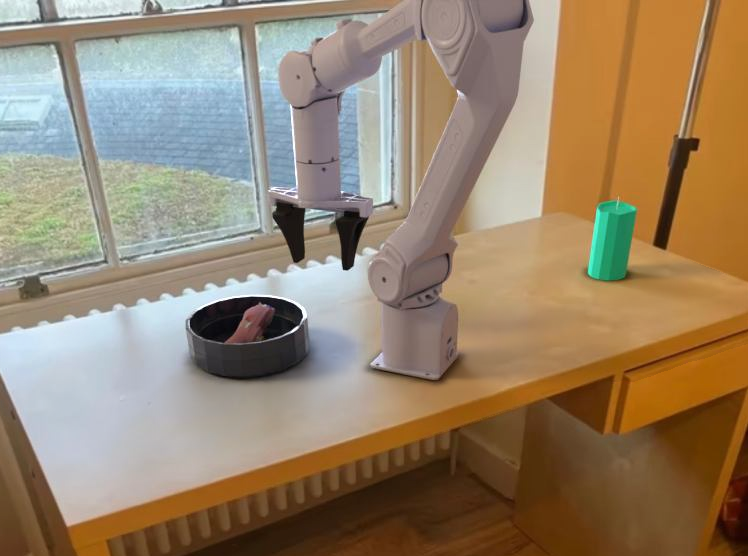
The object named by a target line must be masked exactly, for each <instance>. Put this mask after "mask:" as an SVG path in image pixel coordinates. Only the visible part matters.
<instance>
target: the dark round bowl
mask: <svg viewBox="0 0 748 556" xmlns="http://www.w3.org/2000/svg"><path fill="white" fill-rule="evenodd" d="M259 302H260V303H261V304H262V305H265V304H266V305H267V306H268V305H269V306H270V307H272V308H274V309H275V313H274V315H273V319H272V321H271V323H270V325H269V326H268V327H267V329H266V331H265V333H264V335H263V336H264V340H263V341H260V342H250V343H225V342H226V341H227V340H228V339H230V338H231V337H232V336H233V335H234V333H235V332H236V330H237V329H238V327H239V324H240V322H241V321H242V320H243V316H244V313H245V312H246V311H247V310H248V309H250V308H252V307H254V306H257V305H259ZM308 318H309V317H308V314H307V310H306V309H305V308H304V306H302V305H301V304H300V303H298V302H296V301H294V300H291V299H289V298H286V297H281V296H275V295H270V294H269V295H267V294H249V295H248V294H247V295H238V296H231V297H226V298H221V299H216V300H214V301H211V302H209V303H206V304H204V305H201V306H199V307H198V308H196V309H195V310H193V311H192V312H191V313H190V314H189V315H188V317H187V318H186V319H185V333H186V339H187V345H188V351H189V356H190V359H191V361H192V362H193V364H195V366H196V367H198V368H199V369H201V370H203V371H206V372H207V373H211V374H214V375H217V376H221V377H227V378H239V379H243V378H244V379H245V378H257V377H258V378H259V377H265V376H268V375H273V374H276V373H279V372H281V371H284V370H287V369H289V368H290V367H292V366H293V365H296V364H297V363H299V362H300V361H301V360H302V359H303V358H304V357H306V356H307V354H308V351H309V350H310V347H311V346H310V336H309V335H310V333H309V321H308V320H309V319H308Z"/></svg>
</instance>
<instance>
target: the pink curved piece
mask: <svg viewBox="0 0 748 556" xmlns="http://www.w3.org/2000/svg"><path fill="white" fill-rule="evenodd" d="M274 313H275V309H274V308H272V307H270V306H269V305H268V306H267V305H266V304H265V305H262V304H261V303H260V302H259V305H257V306H254V307H252V308H250V309H248V310H247V311H246V312H245V313H244V316H243V320H242V321H241V322H240V324H239V327H238V329H237V330H236V332H235V333H234V335H233V336H232V337H231V338H230V339H228V340H227V341H226V342H225V343H250V342H260V341H263V340H264V336H263V335H264V333H265V331H266V329H267V327H268V326H269V325H270V323H271V321H272V319H273V315H274Z"/></svg>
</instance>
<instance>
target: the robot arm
mask: <svg viewBox="0 0 748 556" xmlns="http://www.w3.org/2000/svg"><path fill="white" fill-rule="evenodd" d="M534 22H535V18H534V15H533V11H532V7H531V3H530V0H402V1H400V2H399V3H398V4H397V5H395V6H393V7H392V8H391V9H389V10H388V11H387V12H385V13H383V14H382V15H381V16H379V17H378V18H376V19H375V20H374V21H372V22H370V23H366V22H365V21H363V20H353V19H352V18H345V19H341V20H338V21H337V22H336V23H335V28H336V30H335V31H332V33H329V34H328V35H327V36H325V37H315V38H314V39H312V40H311V41H310V45H311V46H310V47H309V48H308V49H307V50H300V51H299V50H289V51H287V52H286V54H285V55H284V56H283V58H282V59H281V60H280V62H279V64H278V70H277V82H278V87H279V90H280V93H281V95H282V97H283V98H284V100H285V101H286V102H287V104H289V105H290V117H291V131H292V144H293V157H294V169H295V183H296V185H295V186H296V187H278V186H274V187H272V188H271V189H268V190H267V197H268V198H267V199H268V206H269V207H275V210H274V211H273V212H272V213H271V217H272V220H273V221H274V222H275V224H276V225H277V227H278V228H279V230H280V232H281V233H282V235H283V237H284V239H285V242H286V244H287V247H288V250H289V253H290V255H291V259H292V263H294V264H298V263H300V262H301V261H303V260H304V259H306V258H305V256H306V245H305V217H306V210H316V211H323V212H324V211H325V212H330V213H340V214H343V215H341V216H340V217H339V218H337V219H335V226H336V230H337V233H338V238H339V242H340V257H341V267H342V271H347V272H348V271H350V270H351V269H352V268H353V267H355V260H356V255H357V250H358V246H359V242H360V239H361V236H362V234H363V231H364V229H365V226H366V224H367V222H368V220H369V218H370V216H372V215H373V214H374V198H373V197H368V196H363V195H359V194H354V193H350V192H346V191H343V190H342V181H341V179H342V178H341V157H340V135H339V134H340V133H339V116H340V115H341V112H342V100H343V96H344V94H345V92H346V90H348V89H350V88H352V87H354V86H355V85H358V84H359V83H361V82H363V81H365V80H367V79H369V78H371V77H373V76H374V75H376V74H377V73H378V71H379V70H380V68H381V65H382V62H383V56H386V55H388V54H390V53H392V52H394V51H396V50H399V49H400V48H403V47H405V46H407V45H409V44H410V43H413V42H415V41H420V42H426V41H427V43H428V45H429V47H430V49H431V51H432V53H433V54H434V56H435V58H436V61H438V64H439V65H440V67H441V69H442V71H443V73H444V74H445V77H446V78H447V81H448V82H449V83H450V86H451V87H452V88H453V89H455V90H456V93H457V98H456V102H455V104H454V107H453V109H452V111H451V113H450V116H449V118H448V120H447V122H446V125H445V128H444V130H443V132H442V134H441V137H440V140H439V142H438V144H437V146H436V149H435V150H434V152H433V156H432V158H431V160H430V163H429V165H428V168H427V170H426V171H425V174H424V177H423V179H422V180H421V184H420V186H419V189H418V191H417V193H416V195H415V198H414V200H413V202H412V205H411V207H410V210H409V212H408V214H407V216H406V218H405V221H404V222H402V224H401V225H400V226H399V227H398V228H396V229H395V230H394V232H392V234H390V235H389V236H388V237H387V238H386V240H385V241H384V243H383V246H382V247H381V249H380V250H379V251H378V252H377V253H375V254H374V255H372V257H371V258H370V259H369V261H368V265H367V270H366V271H367V281H368V285H369V287H370V290H371V291H372V293H373V294H374V296H375V297H376V298H377V301H378V302H379V303H381V353H380V354H379V355H378V356H377V357H376V358H375V359H374V360H373V361H372V362H371V363H370V368H371V369H376V370H379V371H386V372H390V373H395V374H399V375H406V376H409V377H410V376H411V377H415V378H421V379H426V380H431V381H438V380H439V379H440V378H442V376H443V374H444V373H445V372H446V371H447V370H448V369H449V368H450V366H451V365H452V364H453V363H454V361H456V359H457V358H458V357H459V352H458V332H459V329H458V328H459V309H458V306H457V304H456V303H454V302H451V301H448V300H445V299H444V298H442V297H441V296H440V294H441V293H443V284H444V283H446V281H448V279H449V278H450V276H451V274H452V271H453V258H454V254H455V251H456V249H457V247H458V242H457V241H456V239H455V237H454V235H453V234H452V233H453V230H454V229H455V227H456V224H457V222H458V220H459V218H460V216H461V214H462V212H463V210H464V208H465V206H466V205H467V202H468V200H469V198H470V195H471V194H472V193H473V192H472V191H473V190H474V188H475V185H476V184H477V181H478V179H479V178H480V175H481V174H482V171H483V170H484V167H485V165H486V163H487V162H488V160H489V157H490V155H491V154H492V151H493V149H494V147H495V145H496V144H497V141H498V139H499V137H500V135H501V132H502V130H503V129H504V127H505V124H506V122H507V120H508V118H509V117H510V114H511V112H512V111H513V109H514V106H515V104H516V102H517V98H518V94H519V91H520V90H519V88H520V81H521V80H520V79H521V73H522V72H521V71H522V63H523V62H522V61H523V55H524V54H523V53H524V43H525V41H526V39H527V37H528V34H529V32H530V30H531V29H532V26H533V24H534Z"/></svg>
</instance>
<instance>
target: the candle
mask: <svg viewBox="0 0 748 556" xmlns="http://www.w3.org/2000/svg"><path fill="white" fill-rule="evenodd" d="M637 212H638V207H636V206H634V205H632V204H630V203H627V202H624V201H621V200H620V196H618V198H617V200H616V199H614V200H608V201H603V202H600V203H598V205H597V206H596V212H595V220H594V227H593V234H592V239H591V247H590V254H589V262H588V267H587V274H588V275H589V276H590V278H594V279H595V280H596V279H597V280H601V281H619V280H622V279H625V277H626V275H627V271H628V264H629V258H630V253H631V247H632V243H633V235H634V230H635V224H636V218H637Z"/></svg>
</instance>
